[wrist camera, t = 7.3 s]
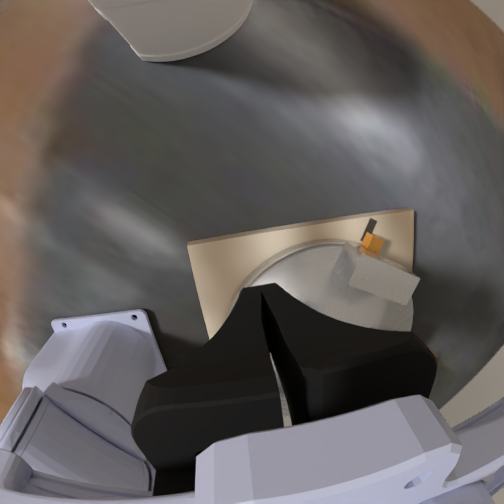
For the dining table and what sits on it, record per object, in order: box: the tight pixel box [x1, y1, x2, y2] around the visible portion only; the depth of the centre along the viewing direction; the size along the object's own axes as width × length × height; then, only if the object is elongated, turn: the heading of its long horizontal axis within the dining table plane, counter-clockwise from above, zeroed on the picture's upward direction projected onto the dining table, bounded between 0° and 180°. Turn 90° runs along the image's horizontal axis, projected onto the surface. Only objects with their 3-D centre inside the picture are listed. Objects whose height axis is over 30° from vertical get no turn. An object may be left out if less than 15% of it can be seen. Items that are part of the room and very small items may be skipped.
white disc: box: [224, 232, 420, 427], centre depth 21 cm, size 16×15×4 cm
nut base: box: [187, 207, 414, 339], centre depth 23 cm, size 17×17×1 cm
